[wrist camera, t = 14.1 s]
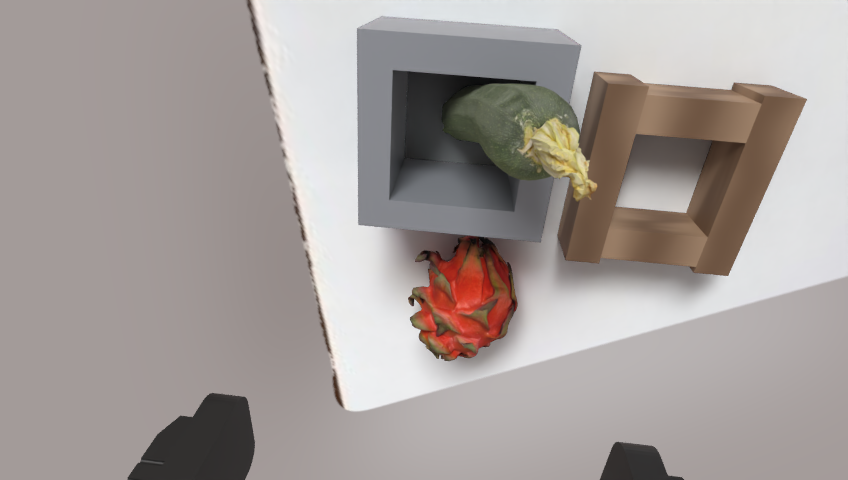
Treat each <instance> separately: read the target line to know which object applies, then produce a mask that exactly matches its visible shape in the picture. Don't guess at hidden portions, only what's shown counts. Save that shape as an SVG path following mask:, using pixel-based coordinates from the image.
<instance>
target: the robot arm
mask: <svg viewBox="0 0 848 480" xmlns="http://www.w3.org/2000/svg"><path fill="white" fill-rule="evenodd" d="M254 448H255V441H254V435H253V429H252V423H251V417H250V411H249V405H248V401H247V399H246V398H245V397H241V396H232V395H224V394H215V393H211V394H209V395H208V396H207V397H206V398H205V399H204V400H203V402H202V403H201V405H200V407H199V408H198V410H197V411H196V413H195V415H194V416H193V417H187V416H180V417H178V418H177V419H176V420H175V421H174V422H172V423H171V424H170V425H169V426H167V427H166V428H165V429H164V430H162V431H161V432H160V433H159V434H158V435H157V436H156V438H155V439H154V440H153V442H152V443H151V445H150V446H149V448H148V449H147V450H146V452H145V453H144V455H143V456H142V458H141V462H140V463H138V464H137V465H136V467H135V468H134V469H133V471H132V472H131V474H130V475H129V477H128V480H245V478H246V476H247V474H248V472H249V469H250V466H251V463H252V459H253V455H254ZM600 480H684V479H683V478H682V477H674V476H668V475H667V473H666V470H665V467H664V464H663V462H662V459H661V457H660V454H659V452H658V451H657V449H656V448H655V447H653V446H648V445H640V444H631V443H623V442H616V443H615V444H614V445H613V447H612V450H611V452H610V455H609V457H608V460H607V462H606V465H605V468H604V470H603V473H602V476H601V478H600Z"/></svg>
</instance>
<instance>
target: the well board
mask: <svg viewBox="0 0 848 480" xmlns="http://www.w3.org/2000/svg"><path fill="white" fill-rule="evenodd" d="M806 100H807V99H805V98H803V97H800V96H797V95H795V94H792V93H789V92H787V91H784V90H782V89H779V88H776V87H774V86H769V85H757V84H744V83H734V84H733V87H732V90H723V89H710V88H698V87H685V86H672V85H660V84H647V83H643V82H641V81H640V80H638V79H637V78H635V77H634V76H632V75H629V74H616V73H604V72H594V75H593V80H592V84H591V88H590V93H589V97H588V102H587V106H586V111H585V115H584V119H583V124H582V128H581V133H580V141H579V143H580V144H579V146H578V148H581V153H582V154H583V155H584V157H585V158H586V161H588V160H590V162H588V163H589V167H588V171H587V175H588V179H589V180H591V181H592V182H594V183H596V184H597V188H596V191H595V192H594V193H592V194H591V199H592V200H590V199H589V198H588V197H584V198H582V199H581V200H579V201H578V202H577V201H576V200H575V198H574V197H573V191H574V188H573V186H572V182H571V179H570V182H569V186H568V190H567V195H566V199H565V204H564V208H563V213H562V217H561V221H560V226H559V230H558V238H559V241H560V244H561V248H562V251H563V254H564V257H565V260H568V261H579V262H589V263H599V262H600V258H608V259H618V260H628V261H639V262H649V263H660V264H670V265H680V266H689V267H690V268H691V270H692V271H693V272H694V273H703V274H713V275H723V276H728V275H729V273H730V270H731V268H732V266H733V264H734V261H735V259H736V257H737V255H738V252H739V250H740V248H741V246H742V243H743V241H744V239H745V237H746V235H747V232H748V230H749V228H750V226H751V223H752V221H753V219H754V217H755V214H756V212H757V210H758V208H759V205H760V203H761V201H762V199H763V197H764V194H765V192H766V190H767V188H768V185H769V183H770V181H771V179H772V176H773V174H774V172H775V170H776V167H777V165H778V163H779V161H780V158H781V156H782V154H783V152H784V150H785V147H786V145H787V143H788V141H789V138H790V136H791V134H792V132H793V129H794V127H795V125H796V123H797V120H798V118H799V116H800V114H801V112H802V109H803V107H804V105H805V103H806ZM636 134H643V135H655V136H667V137H679V138H691V139H703V140H713V142H712V144H711V147H710V150H709V153H708V155H707V158H706V161H705V163H704V166H703V169H702V172H701V174H700V177H699V180H698V183H697V185H696V188H695V191H694V193H693V196H692V199H691V202H690V204H689V207H688V210H687V212H686V213H678V212H667V211H656V210H645V209H634V208H623V207H615V205H616V202H617V198H618V195H619V191H620V188H621V184H622V181H623V177H624V174H625V170H626V167H627V163H628V159H629V156H630V152H631V149H632V145H633V142H634V138H635V135H636Z"/></svg>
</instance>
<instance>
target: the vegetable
mask: <svg viewBox="0 0 848 480" xmlns="http://www.w3.org/2000/svg"><path fill="white" fill-rule="evenodd" d="M442 122H443V125H444V128H443V131H444V132H445V133H449V134H450V135H451V136H453V137H454V138H455V139H457V140H465V141H470V142H478V143H479V144H480V145H481V146H482V148H483V150H484V152H485V154H486V155H487V156H488V157H489V158H490V159H491V160H492V161H493V163H494V164H495V165H497V166H498V167H499V168H500V169H501V170H503V171H504V172H505V173H507V174H508V175H510V176H512V177H514V178H517V179H520V180H527V181H530V180H539V179H544V178H548V177H551V176H553V177H554V178H559V179H560V178H561V177H569V178H570V179H571V182H572V186H573V188H574V191H573V197H574V198H575V200H576V201H577V202H578V201H579V200H581V199H582V198H584V197H588V198H589V199H590V200H592V199H591V194H592V193H594V192H595V191H596V188H597V184H596V183H594V182H592V181H591V180H589V179H588V175H587V171H588V167H589V163H588V162H590V160H588V161H586V158H585V157H584V155H583V154H582V153H581V148H578V146H579V144H580V143H579V141H580V129H579V125H578V121H577V117H576V115H575V113H574V111H573V109H572V107H571V106H570V105H569V104H568V102H567V101H565V100H564V99H563V98H562V97H560V96H559V95H558V94H557V93H555V92H554V91H552V90H550V89H548V88H545V87H542V86H537V85H526V84H486V85H474V86H467V87H464V88H463V89H461V90H459V91H458V92H457V93H455V94H454V95H453V96H452V97H451V98H450V99H449V100H447V101H446V102H445V103H444V105H443V110H442Z"/></svg>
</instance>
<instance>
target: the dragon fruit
mask: <svg viewBox="0 0 848 480" xmlns="http://www.w3.org/2000/svg"><path fill="white" fill-rule="evenodd" d="M479 238H480V240H481V241H482V242H483V244H482V247H483V248H481V247H479V241H480V240H479ZM458 243H459V244H458V245H457V246H456V247H455V248H454V252H456V255H455V256H454V257H453V258H452V259H451V260H450V261H449V262H446V261H444V260H443V259H442V258H441V256H440V254H439V253H438V252H437V251H436V252H437V253H435V252H433V251H422V252H421V253H420V254H419V255H418V256H417V258H416V259H415V262H421V261H424V260H428V261H430V264H429V265H430V269H428V272H429V279H430V286H429V287H416V288H413V290H412V295H411V296H410V297H409V298H408V300H409V303H410V305H411V306H414V299H415V300H416V301H417V302H418V303H419V304H420V305H421V308H422V310H421V311H419V312H417V313H415V314H414V315H413V316H412V317H410V320H411V322H412V326H414V327H415V328H417V329H420V330H421V331H420V334H419V339H420V341H421V342H423V343H424V344H426V346H425V347H426V348H427V349H429V350H430V351H431V352H432V353H433V354H434V355H435V356H436V358H437V359H439V355H441V359H445V360H444V361H451V360H454V359H456V358H457V356H462V357H465V358H472V357H474V356H476V354H477V353H478V349H479V348H481V347H489V346H490V342H492V341H494V340H497V339H501V338H503V337H504V336H505V335H506V333H507V329H508V325H509V322H510V320H511V318H512V316H513V314H514V312H515V311H516V308H517V304H518V303H517V298H516V296H515V289H514V283H513V275H511V273H512V270H511V266H510V264H509V262H507V265H508V266H507V265H506V263H505V262H504V260H503V259H502V257H501V256H500V255H499V253H498V250H497V248H496V246H495V244H494V243H493V242H491V241H490V240H488V239H486V238H485V239H484V237H480V236H470V235H469V236H465V237H462V238H458ZM509 273H510V275H509Z"/></svg>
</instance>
